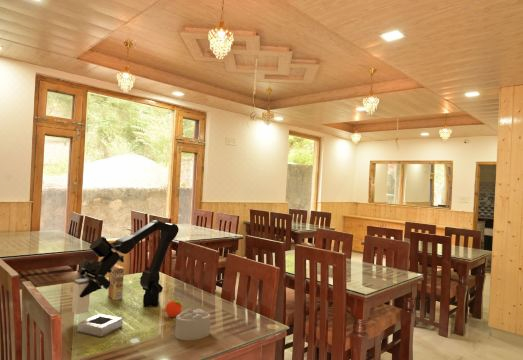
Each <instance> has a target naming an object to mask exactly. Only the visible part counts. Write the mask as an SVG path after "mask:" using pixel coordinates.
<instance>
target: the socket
mask: <svg viewBox="0 0 523 360" xmlns="http://www.w3.org/2000/svg"><path fill="white" fill-rule="evenodd" d="M122 327H123V317H118V316H113V315H110V314H109V315H108V314H103V313H98V314H96V315H93V316H91V317H89V318H86V319H84V320H82V321H79V322H77V333H79V334H83V335H87V336H91V337H92V336H93V337H96V338H104V337H106V336H107V335H109V334H111V333H113V332H115V331H117V330H120V328H122Z"/></svg>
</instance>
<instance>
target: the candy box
mask: <svg viewBox="0 0 523 360" xmlns="http://www.w3.org/2000/svg"><path fill="white" fill-rule="evenodd" d="M111 271H112V272H111V273H108V280H109V281H110V282H111V283H110V287H109V288H108V289H107V296H108V297H110V298H111V299H112V300H113V301H118V300H123V296H124V295H123V294H124V276H125V273H124V272H125V267H123V266H121V265H119V264H117V263H116V264H115V265H114V266H113V267H112V269H111Z"/></svg>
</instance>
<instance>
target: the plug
mask: <svg viewBox="0 0 523 360" xmlns="http://www.w3.org/2000/svg"><path fill="white" fill-rule="evenodd" d="M88 284H89V279H86V278H83V279H80V278H79V279H73V289H72V303H71V312H72V313H74V314H75V315H80V314H85V313H88V312H89V309H90V307H89V306H90V294H91V293H90V294H88V295H86V296H84V297H82V298H81V297H80V294H81V293H82V292H83V290H84V289H85V288H86V286H87V285H88Z"/></svg>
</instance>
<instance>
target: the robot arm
mask: <svg viewBox="0 0 523 360" xmlns="http://www.w3.org/2000/svg"><path fill="white" fill-rule="evenodd" d="M156 231H159V237H160V239H159V243H158V245H157V248H156V249H155V252H154V255H153V258H152V260H151V261H150V262H151V263H150V266H149V268H147V270H143V271H142V273H141V275H140V277H139V280H140V281H139V284H140V286H141V287H142V290H143V291H145V292H144V293H143V298H142V304H143V307H158V306H159V304H160V293H162V292H163V289H164V287H163V286H162V285H161V284H160V278H161V277H160V276H161V275H160V271H161V268H162V265H163V263H164V260H165V257H166V254H167V252H168V249H169V247H170V245H171V242H173V241H174V239H176V237H177V236H178V235H177V234H178V233H179V231H180V229H179V226H178V224H175V223H170V222H162V221H160V220H156V219H155V220H154V219H153V220H152V221H150V222H149V223H148V224H146V225H144V226H143V227H141V228H140V229H138V230H136V231H135V232H133V233H132V234H130V235H126V236H123V237H121V238H118V239H116V240H115V241H114V242H109V241H108V240H107V238H106V237H105V236H101V237H100V238H97V239H95V240H94V241H92V243H90V245H89V249H90V250H91V251H92V252H93V253H94V254H95V255H96V256H97V257H98V258H101V259H100V260H93V259H92V260H91V261H89V260H87V259H82V260H81V262H80V264H79V267H80V268H79V269H78V270H77V271H76V272H77V273H78V274H79V279H83V278H86V279H89V284H88V285H87V286H86V288H85V289H84V290H83V292H82V293H81V294H80V297H81V298H82V297H84V296H86V295H88V294H92V293H94V292H97V291H98V290H102V289H105V290H108V288H109V287H110V283H111V282H110V281H109V279H108V278H107V277H105V276H106V275H107V274H109V273H111V272H112V271H111V269H112V267H113V266H114V265H116V264H117V263H118V262H120V263H124V262H125V260H124V257H125V256H124V255H126V254H129V253H130V252H131V251H132V250H133V249H135V247H136V246H137V244H138V243H139V242H141V241H143V240H144V239H146V238H147V237H149V236H150V235H152V234H153V233H155V232H156ZM113 250H114V251H113ZM119 253H121V255H120V254H119ZM122 254H123V255H122Z"/></svg>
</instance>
